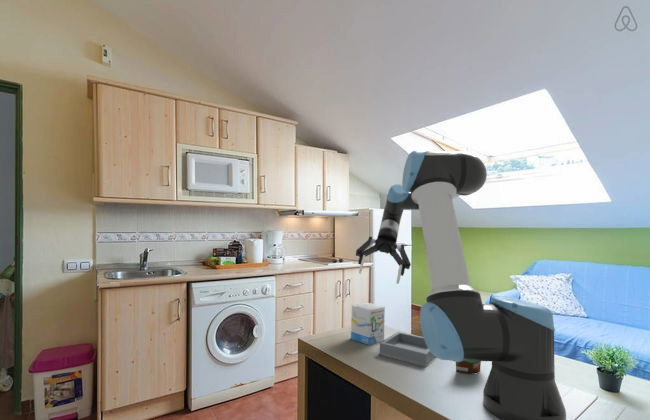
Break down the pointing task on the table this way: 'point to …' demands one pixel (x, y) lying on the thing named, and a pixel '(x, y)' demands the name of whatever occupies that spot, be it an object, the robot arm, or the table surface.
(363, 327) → the ink box
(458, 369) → the food container
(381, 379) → the table surface
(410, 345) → the housing tray
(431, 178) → the robot arm
